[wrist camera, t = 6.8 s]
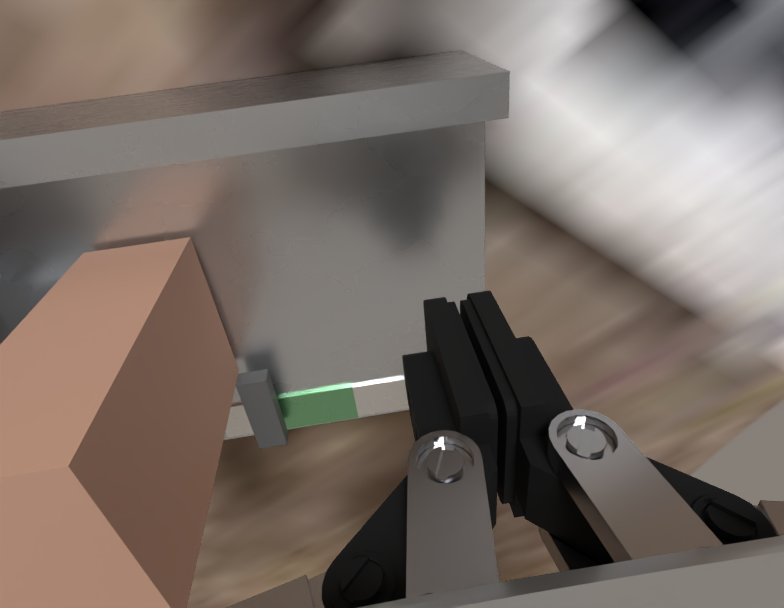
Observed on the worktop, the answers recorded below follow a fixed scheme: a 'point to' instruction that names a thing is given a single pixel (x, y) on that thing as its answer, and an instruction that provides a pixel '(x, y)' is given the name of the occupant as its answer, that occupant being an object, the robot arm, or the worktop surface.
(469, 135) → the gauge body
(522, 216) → the worktop surface
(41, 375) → the plunger
